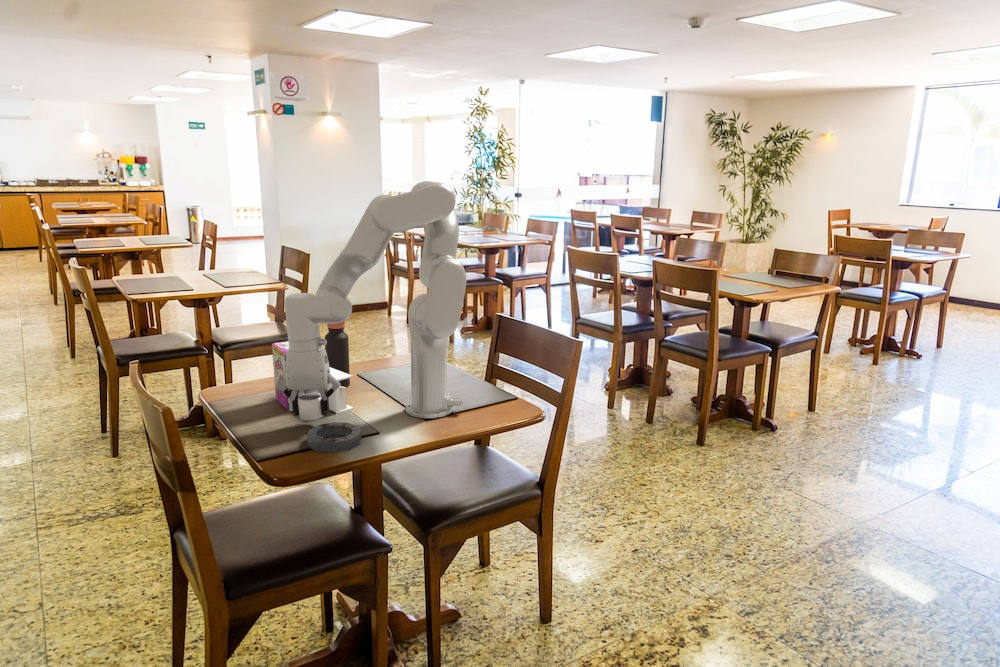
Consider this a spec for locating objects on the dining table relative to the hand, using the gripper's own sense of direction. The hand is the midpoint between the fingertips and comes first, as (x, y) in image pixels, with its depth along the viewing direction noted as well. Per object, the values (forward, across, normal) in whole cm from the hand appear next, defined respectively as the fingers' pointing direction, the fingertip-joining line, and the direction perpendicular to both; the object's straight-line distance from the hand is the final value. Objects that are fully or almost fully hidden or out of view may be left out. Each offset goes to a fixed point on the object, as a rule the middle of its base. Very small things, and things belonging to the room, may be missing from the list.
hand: (311, 413), depth 166 cm
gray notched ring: (+4, -8, +10) cm, 13 cm away
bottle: (+4, +1, -32) cm, 32 cm away
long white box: (+4, +2, -17) cm, 18 cm away
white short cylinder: (+1, 0, 0) cm, 1 cm away
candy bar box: (+3, +10, -14) cm, 18 cm away
